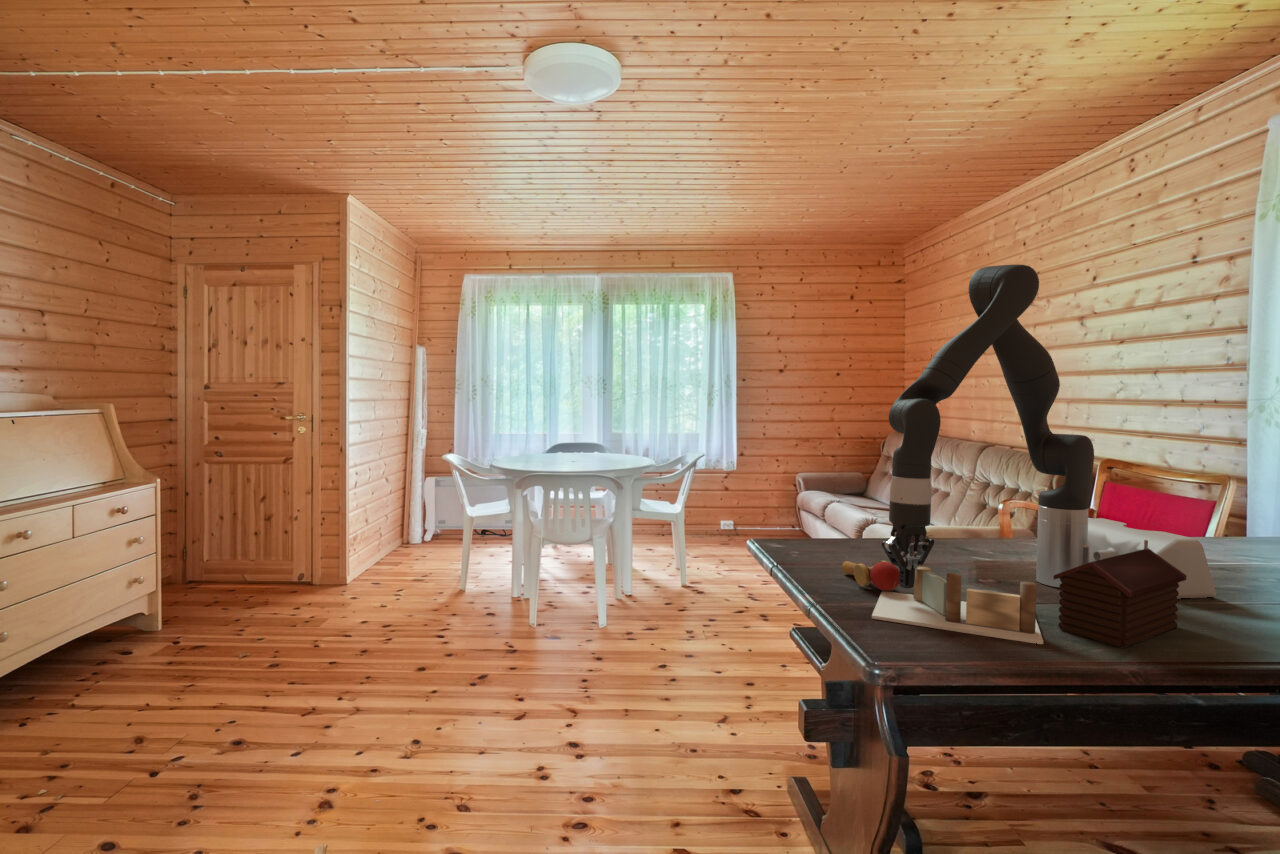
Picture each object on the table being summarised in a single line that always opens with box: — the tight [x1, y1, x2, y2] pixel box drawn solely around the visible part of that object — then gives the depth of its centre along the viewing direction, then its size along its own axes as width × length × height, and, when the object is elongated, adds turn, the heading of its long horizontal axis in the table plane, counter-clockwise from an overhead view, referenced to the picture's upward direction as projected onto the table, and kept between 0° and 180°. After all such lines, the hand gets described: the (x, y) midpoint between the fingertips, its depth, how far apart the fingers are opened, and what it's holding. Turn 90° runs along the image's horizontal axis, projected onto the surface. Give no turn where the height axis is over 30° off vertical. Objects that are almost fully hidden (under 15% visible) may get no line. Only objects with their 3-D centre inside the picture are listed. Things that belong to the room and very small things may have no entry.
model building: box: [1053, 540, 1187, 649], centre depth 111 cm, size 21×12×15 cm, turn 119°
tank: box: [1087, 517, 1217, 600], centre depth 139 cm, size 25×16×12 cm, turn 6°
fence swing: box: [912, 566, 947, 615], centre depth 121 cm, size 11×3×6 cm, turn 2°
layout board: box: [871, 590, 1044, 645], centre depth 118 cm, size 27×17×1 cm, turn 63°
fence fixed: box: [946, 572, 1038, 634], centre depth 111 cm, size 14×2×9 cm, turn 63°
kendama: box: [841, 560, 900, 592], centre depth 137 cm, size 8×6×18 cm
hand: (906, 587), depth 123 cm, fingers closed
